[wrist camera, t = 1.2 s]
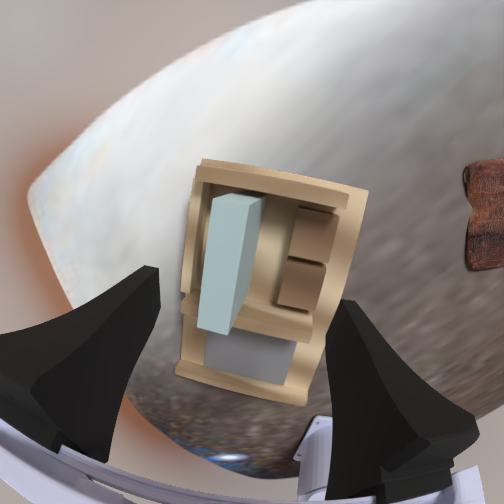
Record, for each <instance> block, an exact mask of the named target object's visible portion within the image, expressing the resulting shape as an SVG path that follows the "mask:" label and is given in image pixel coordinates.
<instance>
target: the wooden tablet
mask: <svg viewBox="0 0 504 504" xmlns="http://www.w3.org/2000/svg"><path fill="white" fill-rule="evenodd" d="M464 181H465V187H466V192H467V197H468V200H469V203H470V204H471V206H472V208H473V212H472V213H471V216H470V219H469V222H468V227H467V239H466V245H467V246H466V252H467V262H468V264H469V265H470V267H471V268H472V269H474V270H481V269H488V268H495V267H500V266H504V159H493V160H484V161H478V162H475V163H472V164H470V165H468V166H466V168H465V169H464Z"/></svg>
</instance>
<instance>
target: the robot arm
mask: <svg viewBox="0 0 504 504" xmlns="http://www.w3.org/2000/svg"><path fill="white" fill-rule="evenodd" d="M160 308H161V303H160V286H159V268H156V267H151V266H146V265H144V266H143V267H141V268H140V269H138V270H137V271H135V272H134V273H132V274H131V275H129V276H128V277H126V278H125V279H123V280H122V281H120V282H119V283H117V284H116V285H114V286H113V287H111V288H110V289H109V290H107V291H105V292H104V293H102V294H100V295H99V296H97V297H95V298H94V299H92V300H91V301H89V302H87V303H85V304H84V305H82V306H80V307H78V308H76V309H74V310H72V311H70V312H68V313H66V314H64V315H62V316H59V317H57V318H54V319H52V320H49V321H47V322H44V323H42V324H39V325H36V326H33V327H29V328H26V329H23V330H19V331H15V332H10V333H5V334H0V478H1V479H2V480H4V481H5V482H6V483H7V484H8V485H10V486H11V487H12V488H13V489H15V490H16V491H17V492H18V493H20V494H21V495H22V496H24V497H25V498H26V499H28V500H29V501H30V502H32V503H34V504H136V503H134V502H132V501H129V500H128V499H126V498H124V496H123V495H122V494H119V493H117V492H114V491H112V490H110V489H108V488H105V487H103V486H101V485H99V484H97V483H95V482H94V481H93V480H96V481H98V482H100V483H103V484H105V485H108V486H110V487H113V488H115V489H118V490H121V491H124V492H126V493H129V494H132V495H135V496H138V497H141V498H145V499H148V500H151V501H155V502H158V503H162V504H485V499H484V494H483V488H482V483H481V479H480V474H479V470H478V466H477V465H474V466H471V467H468V468H466V469H463V470H460V471H458V472H455V473H453V474H451V472H450V468H452V467H454V461H453V458H454V457H456V456H457V455H458V454H460V453H461V452H463V451H464V450H466V449H467V448H468V447H470V446H471V445H472V444H473V443H474V442H475V441H476V440H477V439H478V437H479V435H480V433H479V430H478V427H477V423H476V420H475V417H474V415H473V414H471V413H469V412H467V411H466V410H464V409H462V408H461V407H459V406H457V405H455V404H454V403H452V402H451V401H449V400H448V399H447V398H445V397H444V396H442V395H441V394H440V393H438V392H437V391H436V390H434V389H433V388H432V387H431V386H430V385H428V384H427V383H426V382H425V381H424V380H422V379H421V378H420V377H419V376H418V375H417V374H416V373H415V372H414V371H413V370H412V369H411V368H410V367H409V366H408V365H407V364H406V363H405V362H404V361H403V360H402V359H401V358H400V357H399V356H398V355H397V353H396V352H395V351H394V350H393V349H392V348H391V346H390V345H389V344H388V343H387V342H386V340H385V339H384V338H383V337H382V335H381V334H380V333H379V331H378V330H377V329H376V328H375V326H374V325H373V324H372V322H371V321H370V320H369V318H368V317H367V316H366V314H365V313H364V312H363V310H362V309H361V308H360V307H359V305H358V304H357V303H356V302H355V301H351V300H344V299H341V300H340V302H339V305H338V307H337V310H336V312H335V314H334V317H333V319H332V321H331V324H330V326H329V328H328V330H327V333H326V335H325V350H326V364H327V371H328V378H329V386H330V393H331V401H332V417H327V416H320V415H318V416H315V417H314V419H313V421H312V423H311V425H310V427H309V429H308V431H307V433H306V435H305V437H304V438H303V440H302V442H301V444H300V446H299V448H298V449H297V451H296V453H295V455H294V457H293V459H294V460H296V461H300V472H299V482H298V491H297V496H298V497H297V501H271V500H256V499H246V498H236V497H228V496H222V495H215V494H209V493H204V492H199V491H193V490H189V489H184V488H180V487H176V486H172V485H168V484H164V483H160V482H157V481H153V480H150V479H146V478H143V477H140V476H137V475H134V474H131V473H128V472H125V471H122V470H119V469H117V468H114V467H112V466H109V465H106V464H104V463H106V462H108V458H109V452H110V447H111V442H112V437H113V432H114V428H115V424H116V420H117V415H118V412H119V409H120V405H121V401H122V398H123V395H124V392H125V389H126V386H127V383H128V380H129V378H130V375H131V373H132V370H133V368H134V366H135V364H136V362H137V360H138V358H139V356H140V354H141V352H142V350H143V348H144V346H145V344H146V342H147V340H148V338H149V336H150V334H151V332H152V330H153V328H154V325H155V322H156V320H157V317H158V314H159V311H160ZM92 479H93V480H92Z"/></svg>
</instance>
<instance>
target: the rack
mask: <svg viewBox="0 0 504 504" xmlns="http://www.w3.org/2000/svg"><path fill="white" fill-rule="evenodd" d="M237 191H246V192H252V193H257V194H262V195H267V196H266V201H265V207H264V212H263V217H262V223H261V228H260V234H259V239H258V245H257V250H256V256H255V261H254V266H253V272H252V277H251V283H250V288H249V292H248V294H247V296H246V299H245V301H244V303H243V305H242V307H241V309H240V311H239V313H238V315H237V317H236V319H235V321H234V323H233V326H232V327H235V328H239V329H244V330H248V331H252V332H256V333H260V334H265V335H269V336H273V337H278V338H282V339H287V340H292V341H296V342H297V345H296V348H295V351H294V354H293V358H292V361H291V364H290V367H289V370H288V373H287V376H286V379H285V382H284V385H278V384H274V383H269V382H265V381H260V380H256V379H252V378H248V377H243V376H239V375H236V374H232V373H228V372H224V371H221V370H217V369H213V368H210V367H206V366H204V359H205V350H206V341H207V332H208V330H205V329H202V328H198V327H197V322H198V312H199V303H200V293H201V285H202V276H203V268H204V259H205V252H206V244H207V236H208V229H209V222H210V215H211V208H212V201H213V198H216V197H220V196H223V195H227V194H230V193H234V192H237ZM368 192H369V191H367V190H363V189H359V188H355V187H351V186H347V185H343V184H338V183H334V182H330V181H326V180H321V179H317V178H312V177H307V176H303V175H298V174H293V173H288V172H283V171H277V170H272V169H267V168H261V167H255V166H249V165H243V164H237V163H231V162H224V161H217V160H210V159H202V162H201V166H197V169H196V175H195V178H193V184H192V191H191V198H190V206H189V214H188V222H187V230H186V239H185V249H184V258H183V269H182V280H181V292H185V298H184V299H183V300H182V301H181V313H184V317H183V332H182V348H181V360H180V361H179V363H178V364H177V366H176V367H175V374H177V375H180V376H183V377H186V378H189V379H193V380H196V381H199V382H202V383H206V384H209V385H213V386H216V387H220V388H223V389H227V390H231V391H235V392H238V393H242V394H246V395H251V396H255V397H259V398H264V399H268V400H273V401H278V402H283V403H288V404H293V405H299V406H305V405H306V403H307V395H308V388H309V386H310V383H311V381H312V378H313V376H314V373H315V371H316V368H317V365H318V363H319V360H320V357H321V355H322V352H323V349H324V347H325V335H326V333H327V330H328V328H329V326H330V324H331V321H332V319H333V317H334V314H335V312H336V310H337V307H338V305H339V302H340V299H341V296H342V293H343V289H344V286H345V283H346V279H347V276H348V272H349V269H350V265H351V262H352V258H353V254H354V251H355V247H356V243H357V239H358V235H359V231H360V227H361V223H362V219H363V214H364V210H365V206H366V201H367V197H368ZM299 205H300V206H304V207H309V208H314V209H318V210H323V211H327V212H331V213H336V214H338V215H339V217H340V218H339V222H338V226H337V231H336V235H335V239H334V243H333V247H332V251H331V255H330V259H329V263H324V264H325V265H326V269H327V270H326V274H325V278H324V282H323V285H322V289H321V292H320V296H319V299H318V303H317V306H316V310H315V312H314V311H309V310H304V309H300V308H295V307H290V306H286V305H281V304H277V302H278V298H279V294H280V289H281V285H282V280H283V276H284V272H285V267H286V263H287V258H288V256H291V255H288V254H289V249H290V244H291V240H292V235H293V230H294V225H295V220H296V216H297V211H298V206H299ZM292 257H296V256H292ZM297 258H301V257H297ZM301 259H305V258H301ZM306 260H310V259H306ZM310 261H314V260H310ZM315 262H319V261H315ZM320 263H323V262H320Z"/></svg>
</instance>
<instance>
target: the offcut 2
mask: <svg viewBox="0 0 504 504" xmlns="http://www.w3.org/2000/svg"><path fill="white" fill-rule="evenodd" d="M326 270H327V269H326V265H325V264H324V263H320V262H315V261H310V260H306V259H301V258H297V257H292V256H288V258H287V263H286V267H285V272H284V276H283V280H282V285H281V289H280V294H279V298H278V302H277V304H281V305H286V306H290V307H295V308H300V309H304V310H309V311H314V312H315V310H316V306H317V303H318V299H319V296H320V292H321V289H322V285H323V282H324V278H325V274H326Z"/></svg>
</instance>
